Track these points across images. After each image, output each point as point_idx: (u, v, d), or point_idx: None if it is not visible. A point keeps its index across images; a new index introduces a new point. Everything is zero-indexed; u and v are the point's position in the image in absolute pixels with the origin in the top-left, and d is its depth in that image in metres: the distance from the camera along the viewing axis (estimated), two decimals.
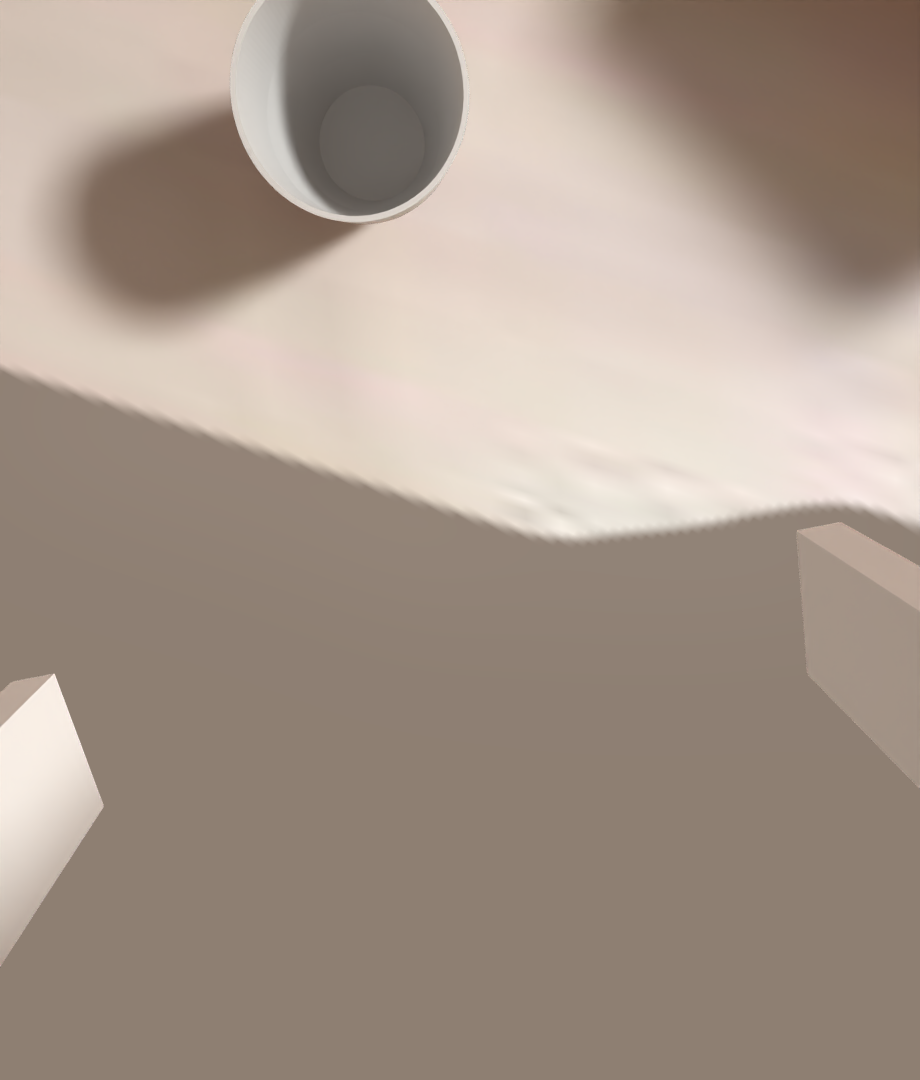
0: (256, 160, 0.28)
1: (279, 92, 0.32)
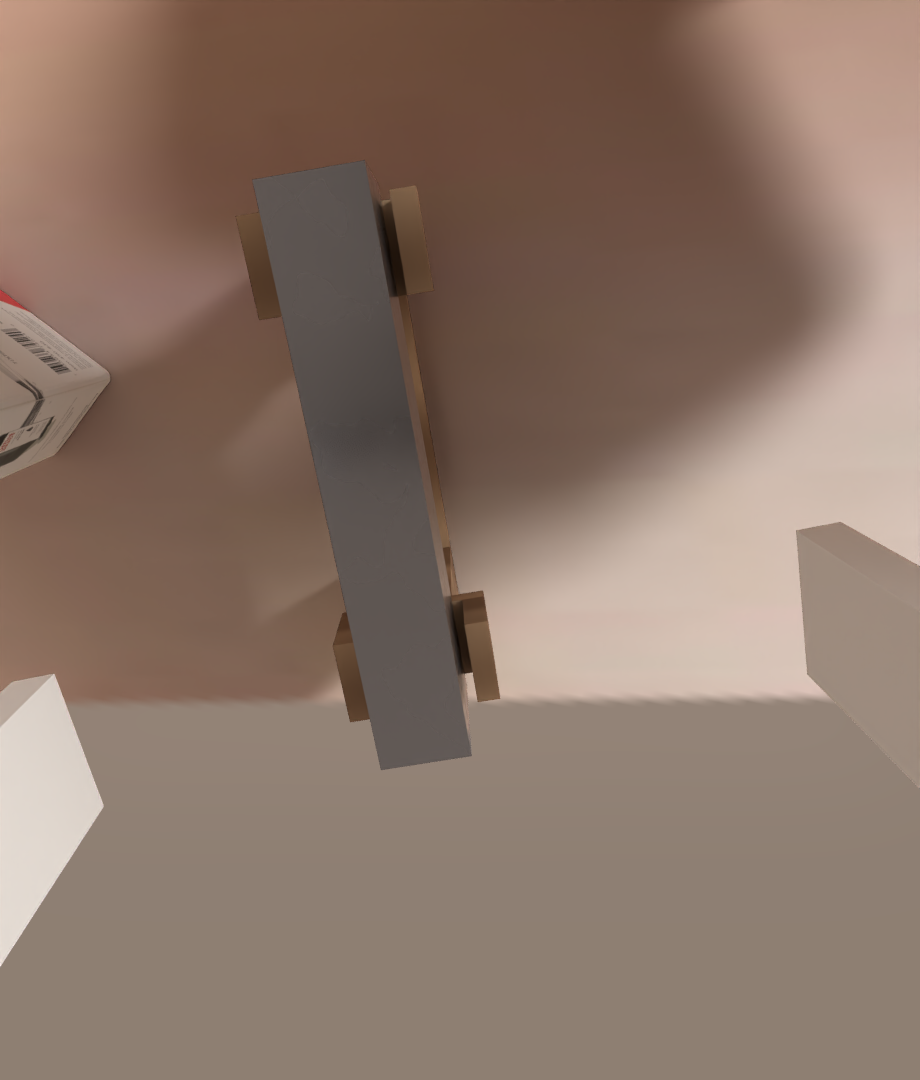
0: None
1: None
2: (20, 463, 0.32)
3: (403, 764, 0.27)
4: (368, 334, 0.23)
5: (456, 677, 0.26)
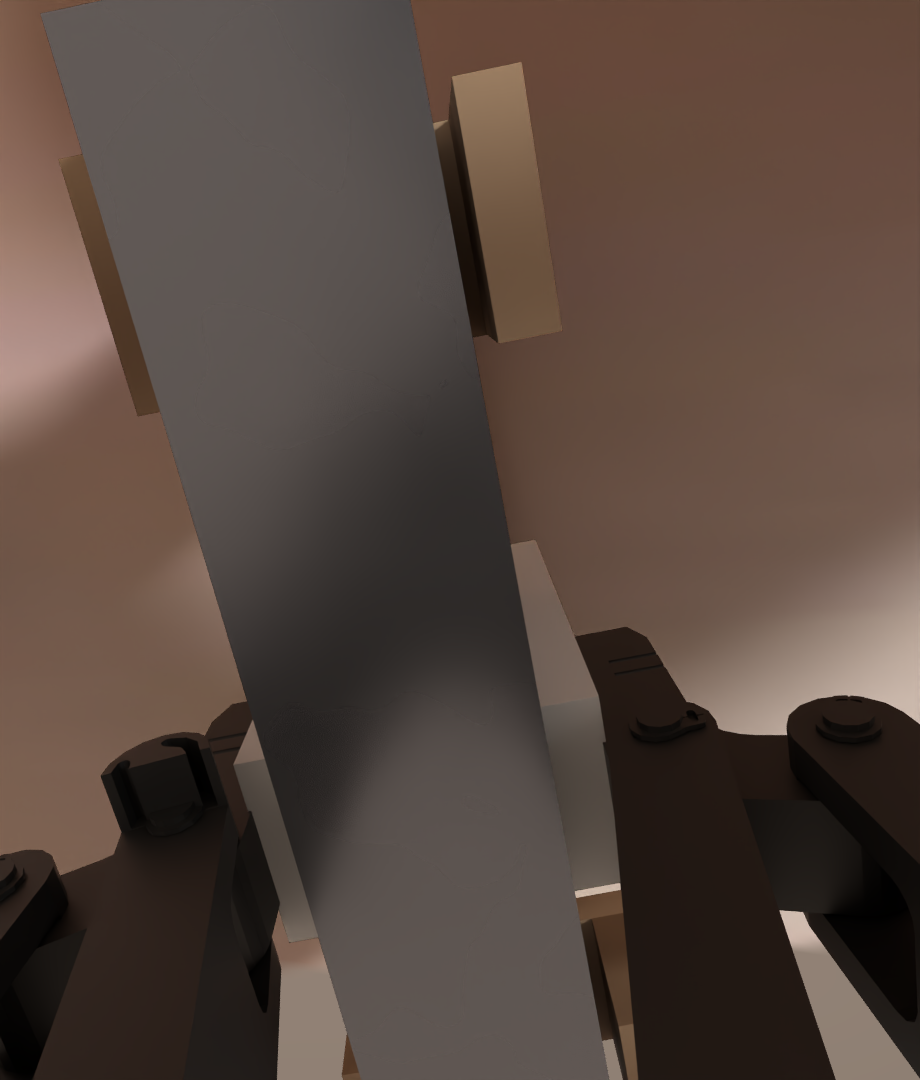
0: None
1: None
2: None
3: None
4: (418, 471, 0.08)
5: None
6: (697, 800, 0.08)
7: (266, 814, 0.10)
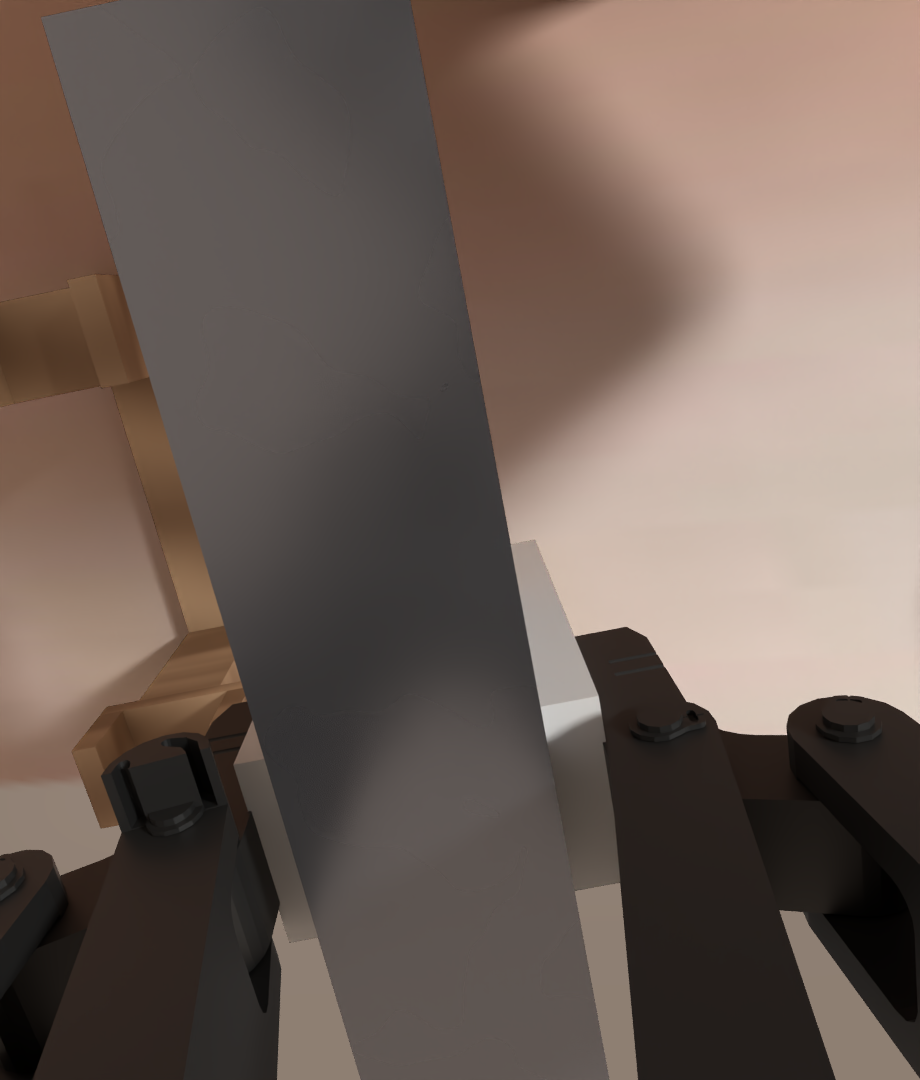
0: None
1: None
2: None
3: None
4: (418, 475, 0.08)
5: None
6: (697, 800, 0.08)
7: (266, 814, 0.10)
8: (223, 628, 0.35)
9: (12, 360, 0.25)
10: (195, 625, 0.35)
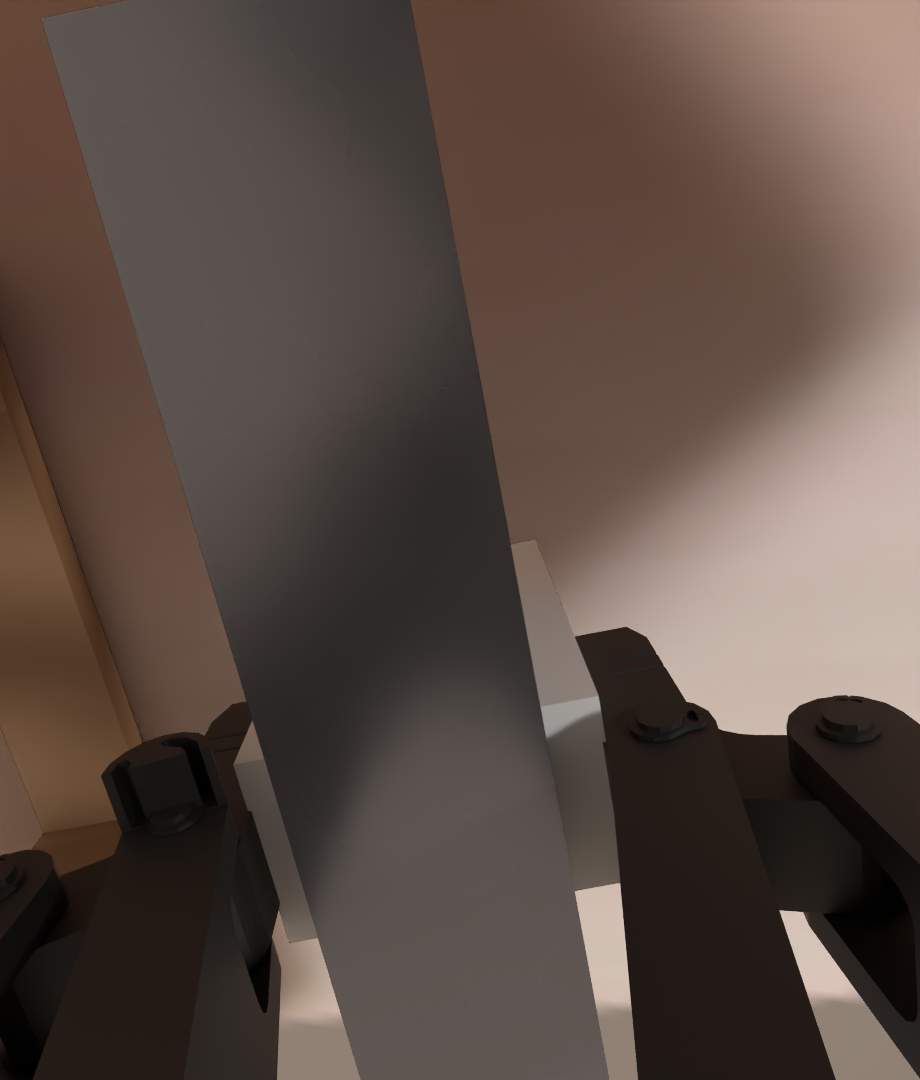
0: None
1: None
2: None
3: None
4: (418, 476, 0.08)
5: None
6: (697, 800, 0.08)
7: (266, 814, 0.10)
8: (96, 830, 0.22)
9: None
10: (53, 822, 0.22)
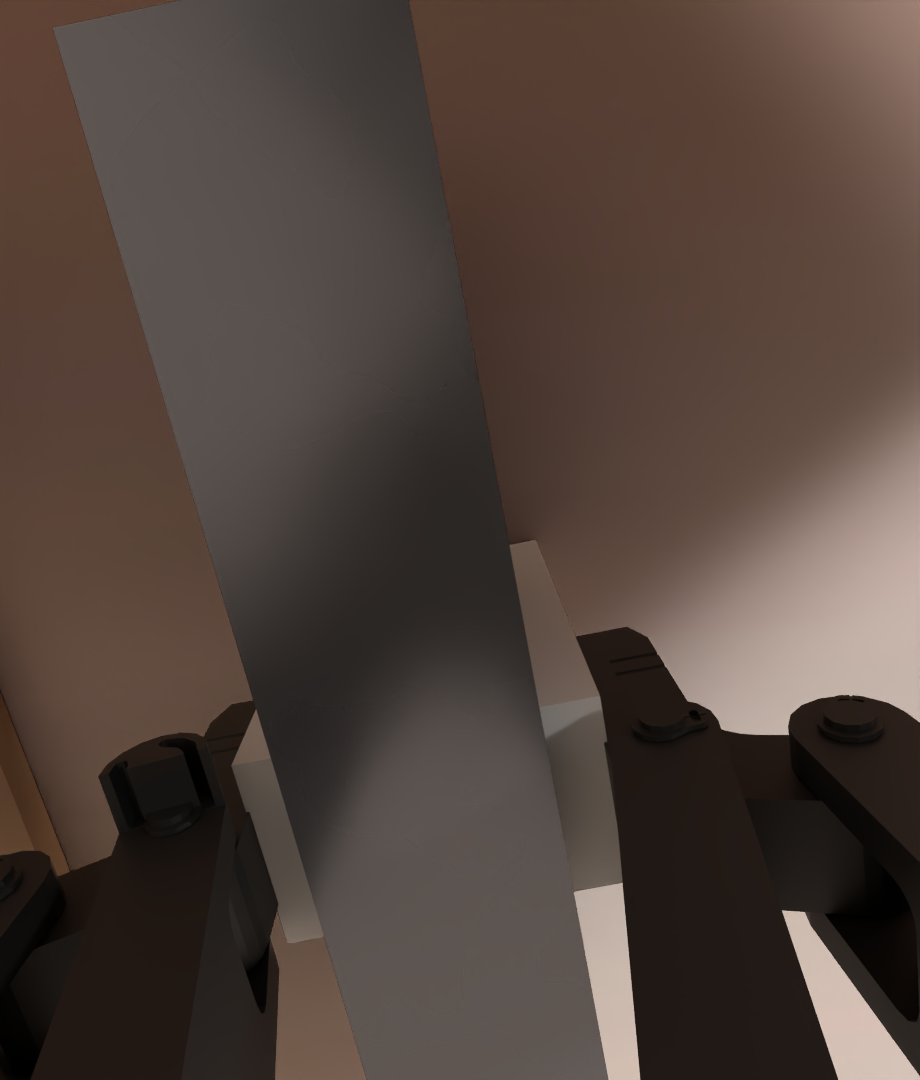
0: None
1: None
2: None
3: None
4: (419, 472, 0.08)
5: None
6: (699, 800, 0.08)
7: (264, 815, 0.10)
8: None
9: None
10: None
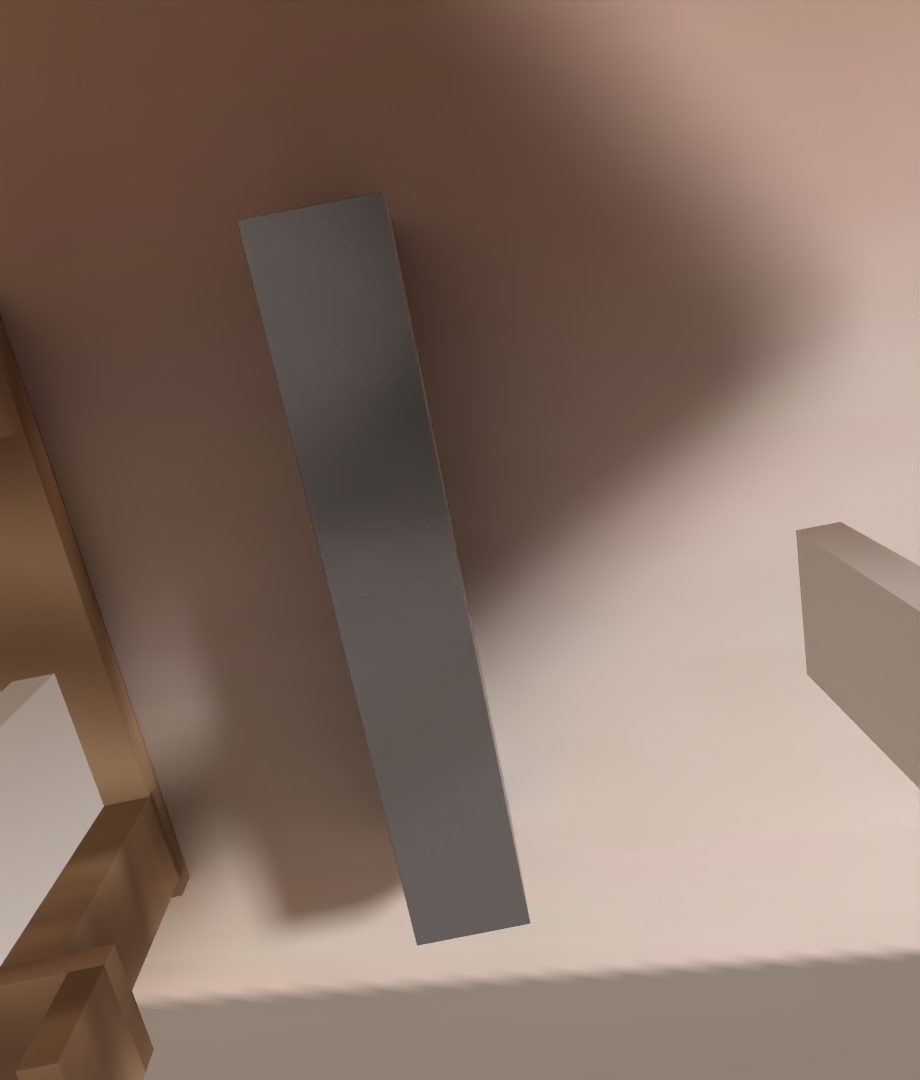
0: None
1: None
2: None
3: (445, 937, 0.21)
4: (391, 412, 0.18)
5: (510, 830, 0.21)
6: None
7: None
8: None
9: None
10: None
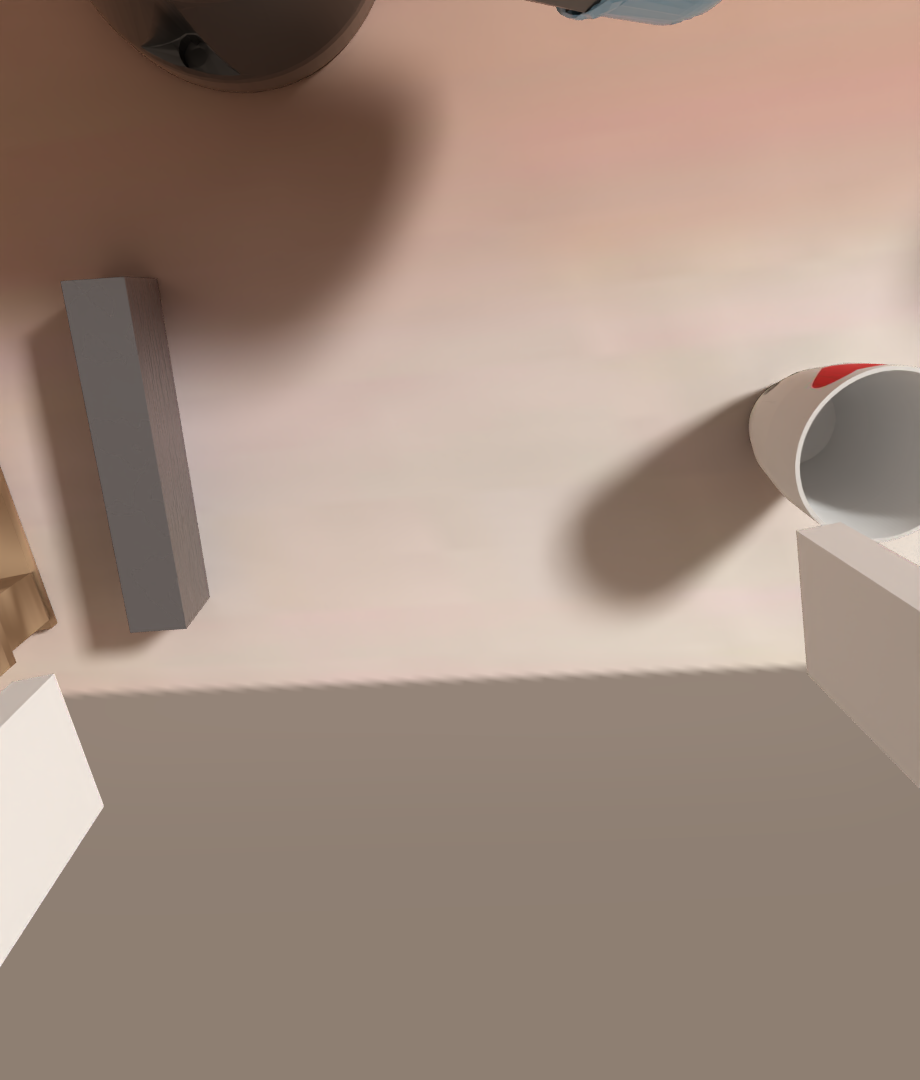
0: (823, 523, 0.38)
1: None
2: None
3: (144, 630, 0.44)
4: (125, 371, 0.40)
5: (176, 578, 0.43)
6: None
7: None
8: (4, 579, 0.46)
9: None
10: None
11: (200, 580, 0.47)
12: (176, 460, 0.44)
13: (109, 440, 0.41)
